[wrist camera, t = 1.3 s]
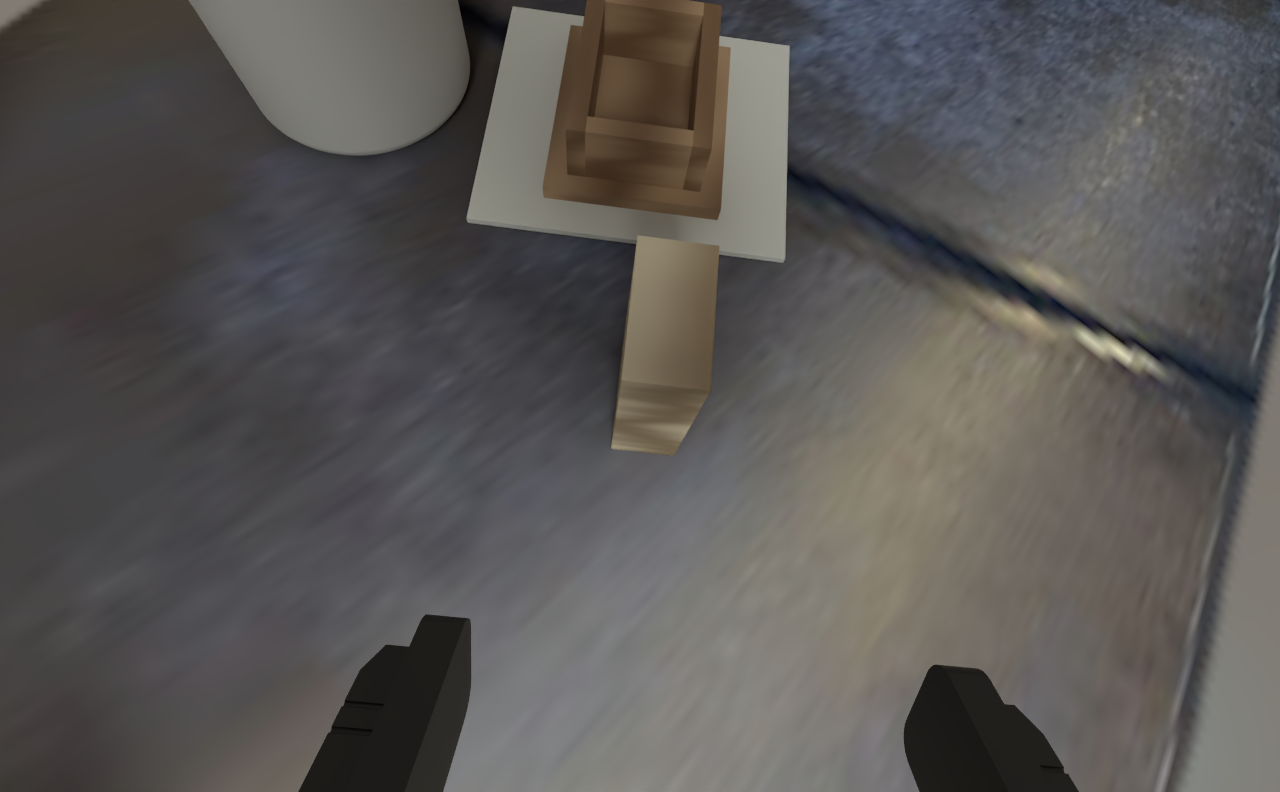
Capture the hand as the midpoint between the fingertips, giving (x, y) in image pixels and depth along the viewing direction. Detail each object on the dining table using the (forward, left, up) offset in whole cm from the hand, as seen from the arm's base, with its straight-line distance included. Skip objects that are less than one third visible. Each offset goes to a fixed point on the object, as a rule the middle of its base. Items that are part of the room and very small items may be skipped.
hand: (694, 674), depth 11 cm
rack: (-2, +29, -19) cm, 34 cm away
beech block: (0, +12, -19) cm, 22 cm away
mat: (-2, +29, -19) cm, 34 cm away
